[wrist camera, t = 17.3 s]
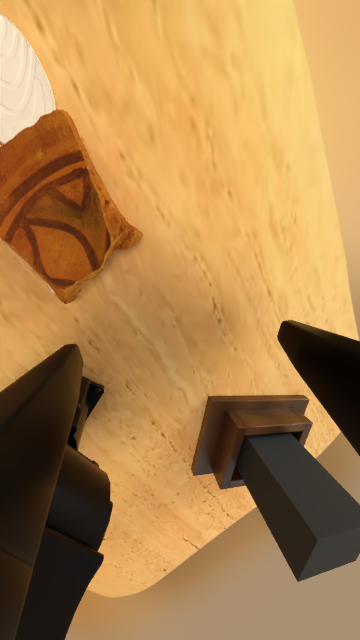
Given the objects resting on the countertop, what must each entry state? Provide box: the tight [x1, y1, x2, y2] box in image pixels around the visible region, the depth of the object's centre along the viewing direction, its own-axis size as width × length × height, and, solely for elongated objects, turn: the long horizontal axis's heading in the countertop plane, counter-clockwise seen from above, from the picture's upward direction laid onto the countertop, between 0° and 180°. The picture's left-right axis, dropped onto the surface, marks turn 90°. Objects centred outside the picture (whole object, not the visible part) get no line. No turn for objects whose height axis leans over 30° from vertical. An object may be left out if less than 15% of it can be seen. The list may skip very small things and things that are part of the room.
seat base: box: [192, 395, 313, 490], centre depth 27 cm, size 16×12×4 cm
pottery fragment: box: [0, 110, 143, 304], centre depth 15 cm, size 10×5×10 cm
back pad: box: [235, 432, 360, 582], centre depth 22 cm, size 7×5×12 cm
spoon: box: [0, 13, 56, 295], centre depth 15 cm, size 5×18×1 cm, turn 6°
